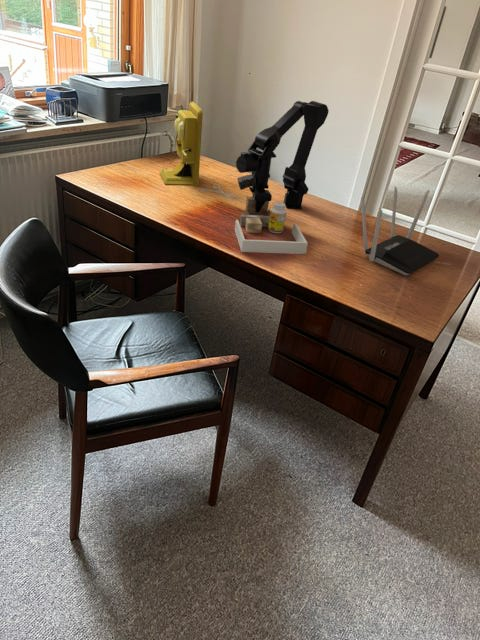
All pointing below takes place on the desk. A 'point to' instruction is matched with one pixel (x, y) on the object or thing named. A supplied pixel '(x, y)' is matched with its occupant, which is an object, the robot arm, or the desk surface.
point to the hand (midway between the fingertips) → (256, 210)
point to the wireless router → (397, 244)
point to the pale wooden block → (253, 225)
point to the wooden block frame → (252, 210)
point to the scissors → (220, 192)
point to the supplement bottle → (277, 218)
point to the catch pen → (273, 243)
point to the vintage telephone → (186, 148)
